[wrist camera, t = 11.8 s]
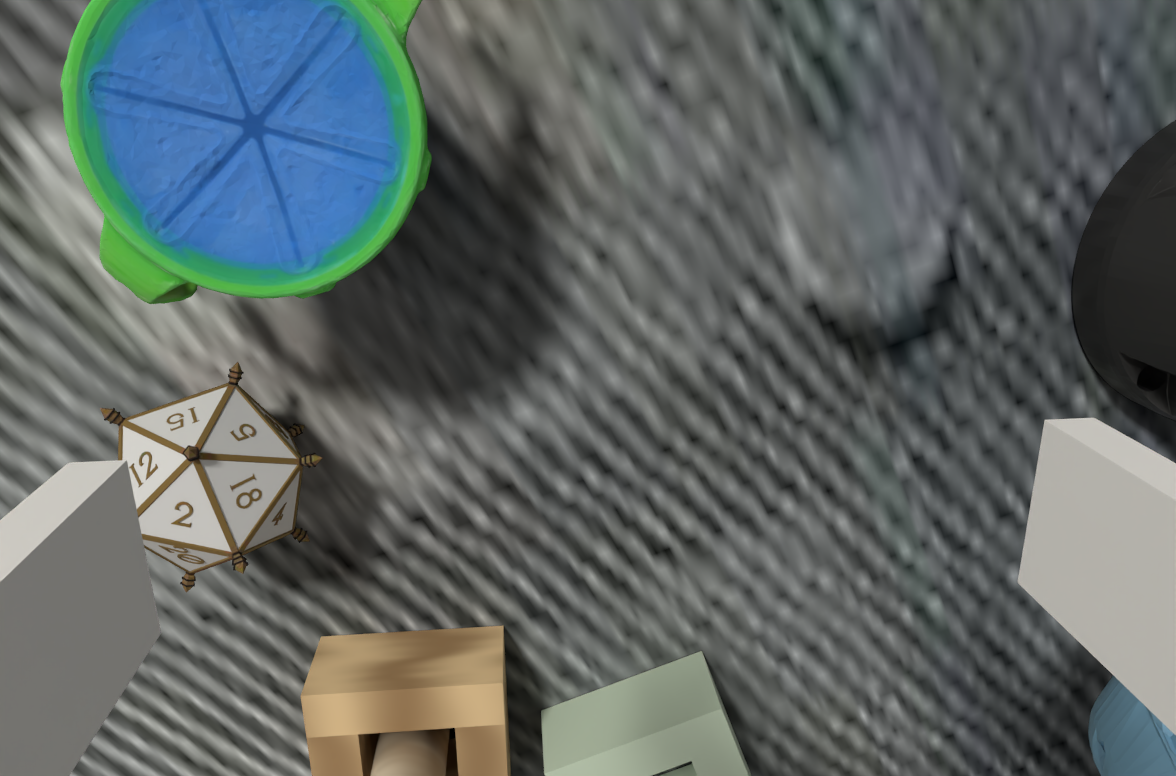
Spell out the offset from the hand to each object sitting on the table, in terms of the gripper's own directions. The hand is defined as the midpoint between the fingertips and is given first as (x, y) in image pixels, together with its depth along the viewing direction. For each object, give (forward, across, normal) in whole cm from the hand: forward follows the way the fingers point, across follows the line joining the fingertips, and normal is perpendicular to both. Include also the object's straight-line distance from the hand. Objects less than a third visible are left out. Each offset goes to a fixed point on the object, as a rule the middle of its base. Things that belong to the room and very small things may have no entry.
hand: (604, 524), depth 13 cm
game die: (+27, +14, +9) cm, 32 cm away
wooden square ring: (+27, +7, +24) cm, 37 cm away
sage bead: (+27, -5, +28) cm, 39 cm away
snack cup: (+27, +9, -5) cm, 29 cm away
